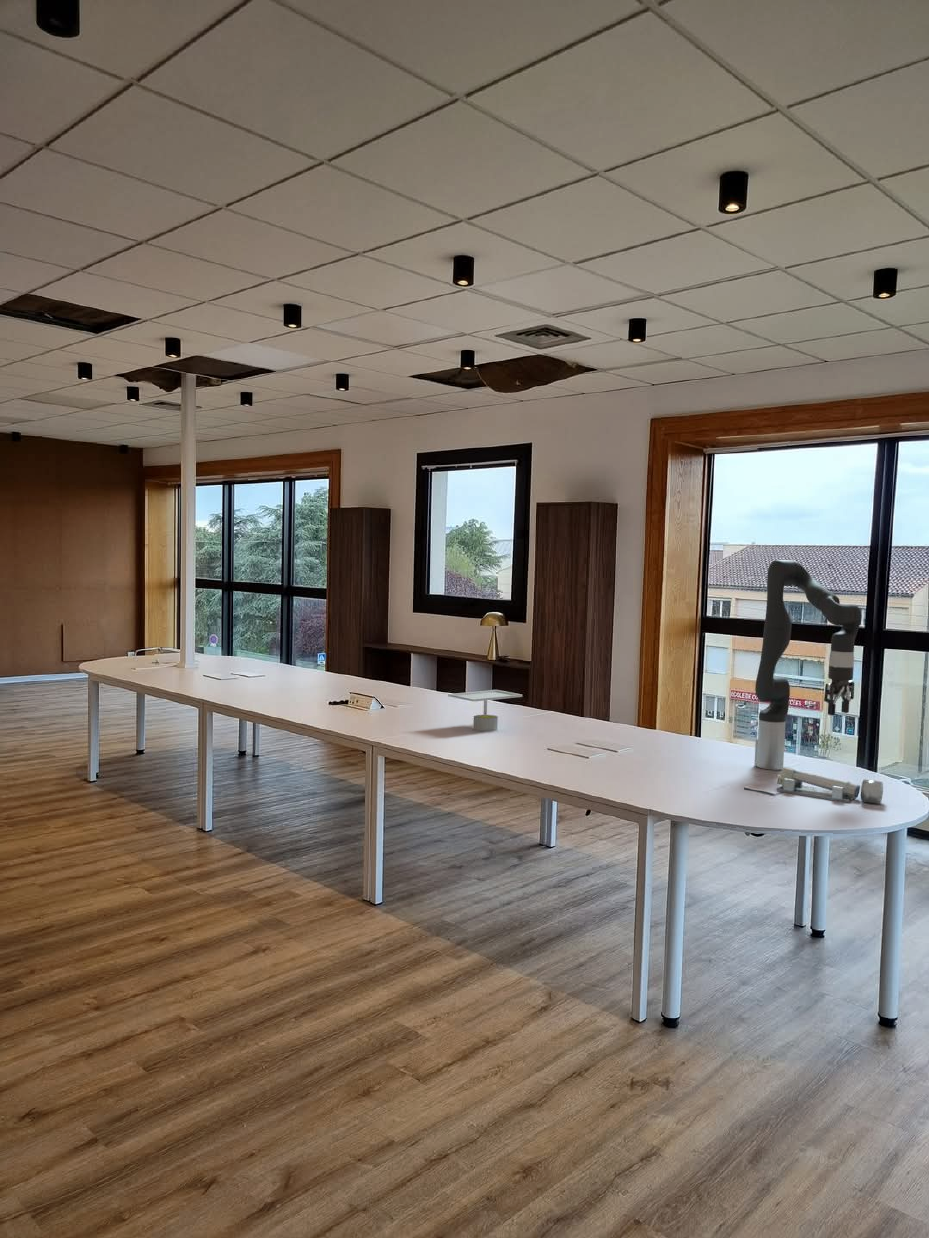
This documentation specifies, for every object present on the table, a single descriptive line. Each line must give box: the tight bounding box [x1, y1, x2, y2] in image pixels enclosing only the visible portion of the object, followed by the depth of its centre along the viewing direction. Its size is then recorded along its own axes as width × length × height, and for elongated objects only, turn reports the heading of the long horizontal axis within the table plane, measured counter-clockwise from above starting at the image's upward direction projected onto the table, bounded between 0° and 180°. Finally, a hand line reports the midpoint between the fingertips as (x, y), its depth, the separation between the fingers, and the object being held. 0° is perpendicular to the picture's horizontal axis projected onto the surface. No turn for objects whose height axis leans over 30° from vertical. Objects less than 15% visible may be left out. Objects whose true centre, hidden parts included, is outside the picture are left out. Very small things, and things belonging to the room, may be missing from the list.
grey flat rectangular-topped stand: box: [447, 689, 523, 732], centre depth 395 cm, size 28×17×15 cm, turn 129°
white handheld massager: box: [776, 766, 861, 799], centre depth 297 cm, size 5×7×25 cm
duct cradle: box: [776, 778, 884, 805], centre depth 293 cm, size 30×10×7 cm, turn 54°
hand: (838, 713), depth 302 cm, fingers open, 8 cm apart
